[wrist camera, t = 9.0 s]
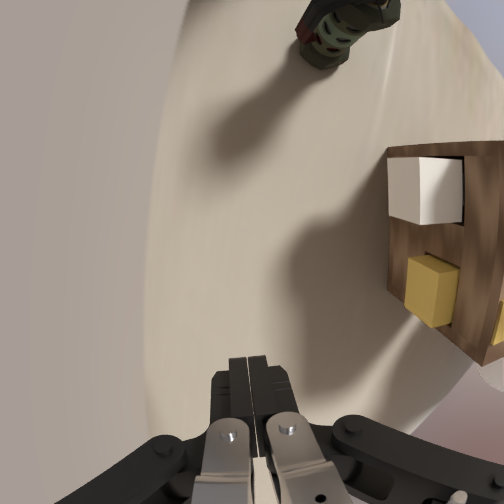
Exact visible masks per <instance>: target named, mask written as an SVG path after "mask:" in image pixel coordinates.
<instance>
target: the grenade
mask: <svg viewBox="0 0 504 504" xmlns="http://www.w3.org/2000/svg"><path fill="white" fill-rule="evenodd" d="M400 8H401V3H400V0H311V2H310V4H309V6H308V7H307V9H306V11H305V12H304V14H303V16H302V18H301V20H300V21H299V23H298V25H297V27H296V28H295V31H296V33H297V37H298V39H299V40H300V55H301V56H302V57H303V58H304V59H305V60H306V61H307V62H309V63H310V64H311V65H313V66H315V67H317V68H318V69H320V70H323V69H328V68H331V67H335V66H338V65H341V64H343V63H344V62H345V61H347V60H348V58H349V51H350V46H352V45H353V44H354V43H355V42H356V41H357V40H358V39H359V38H361V37H362V36H363V35H364V34H366V33H367V32H369V31H376V30H381V29H384V28H388V27H390V26H391V25H393V24H394V23H396V22H397V21H398V20H400Z"/></svg>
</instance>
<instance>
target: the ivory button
mask: <svg viewBox="0 0 504 504" xmlns="http://www.w3.org/2000/svg"><path fill="white" fill-rule="evenodd" d="M387 167H388V199H389V216H393V217H396V218H399V219H402V220H406V221H409V222H412V223H415V224H418V225H427V224H441V223H454V222H462V206H465V174H462V160H455V159H441V158H425V157H406V158H387Z"/></svg>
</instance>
